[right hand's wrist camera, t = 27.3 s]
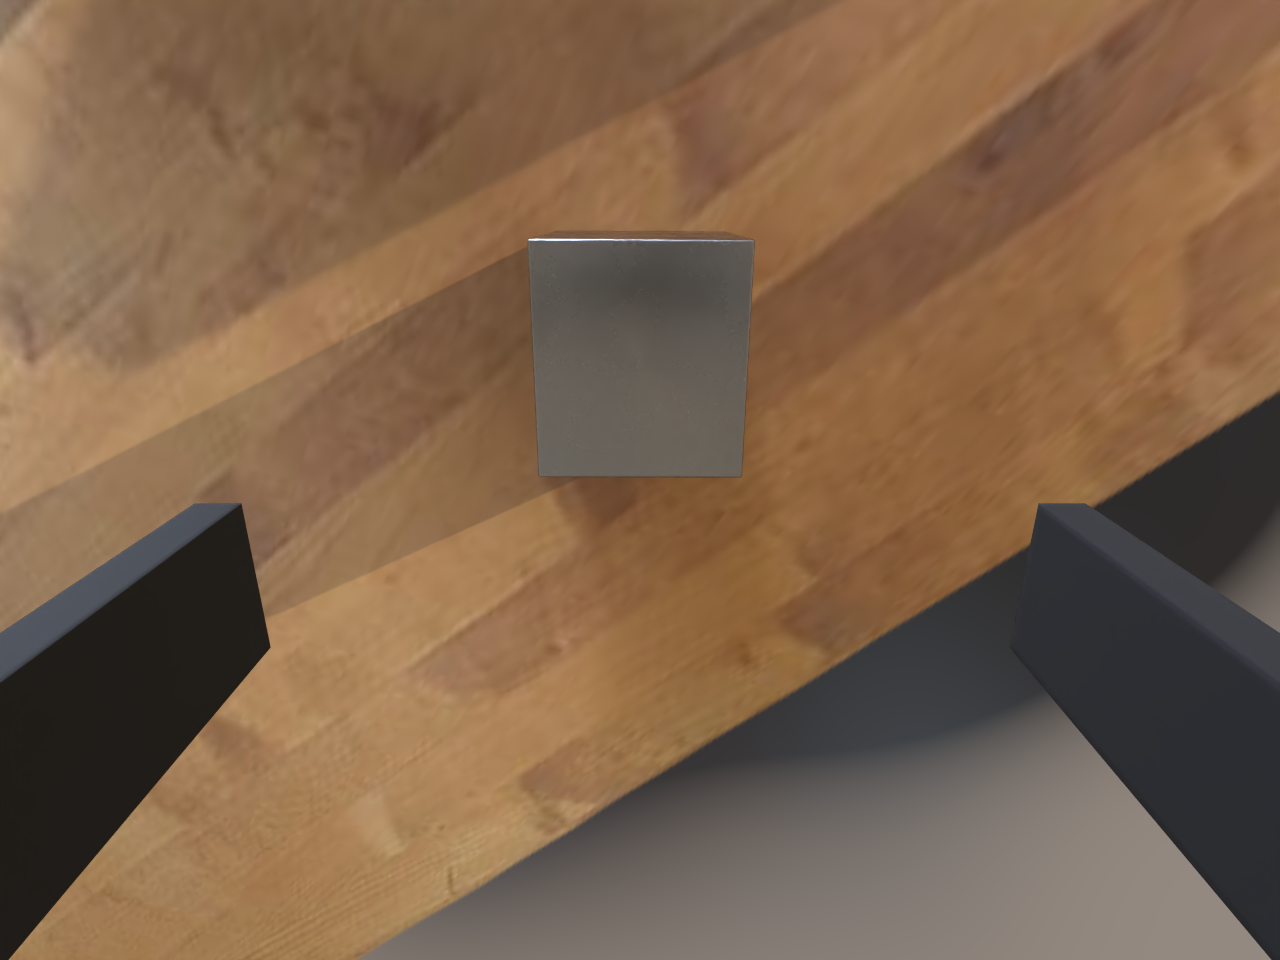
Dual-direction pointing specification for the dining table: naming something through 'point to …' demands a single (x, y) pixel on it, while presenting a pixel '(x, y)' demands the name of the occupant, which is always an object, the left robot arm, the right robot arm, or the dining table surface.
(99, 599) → the right robot arm
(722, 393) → the block
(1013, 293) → the dining table surface
